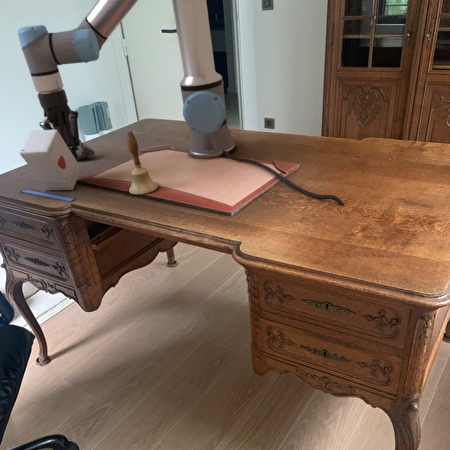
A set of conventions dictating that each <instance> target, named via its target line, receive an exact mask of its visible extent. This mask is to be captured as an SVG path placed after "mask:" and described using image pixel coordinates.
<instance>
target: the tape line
mask: <svg viewBox="0 0 450 450" xmlns="http://www.w3.org/2000/svg"><path fill="white" fill-rule="evenodd" d="M21 193H25V194H30V195H36V196H42V197H45V198H51V199H56V200H62V201H68V202H72V201H74V200H75V198H72V197H67V196H62V195H56V194H51V193H46V192H40V191H34V190H30V189H24V190H22V191H21Z"/></svg>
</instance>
